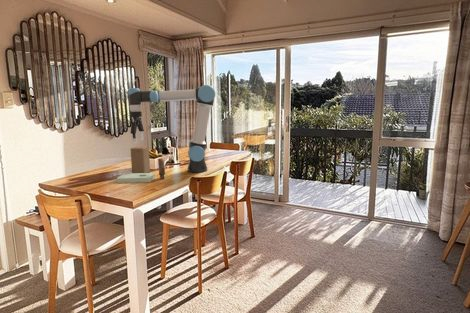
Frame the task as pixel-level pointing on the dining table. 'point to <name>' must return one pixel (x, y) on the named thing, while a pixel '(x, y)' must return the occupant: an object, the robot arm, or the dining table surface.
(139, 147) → the wooden block
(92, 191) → the dining table surface
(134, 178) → the board
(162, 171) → the walnut peg
